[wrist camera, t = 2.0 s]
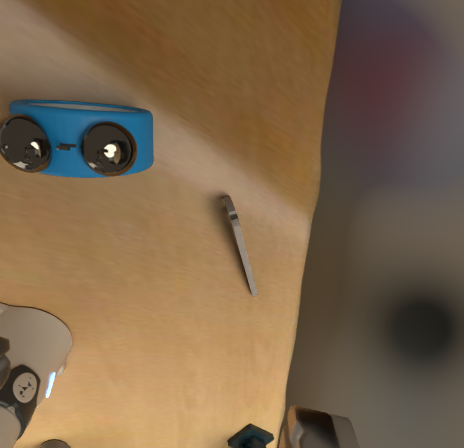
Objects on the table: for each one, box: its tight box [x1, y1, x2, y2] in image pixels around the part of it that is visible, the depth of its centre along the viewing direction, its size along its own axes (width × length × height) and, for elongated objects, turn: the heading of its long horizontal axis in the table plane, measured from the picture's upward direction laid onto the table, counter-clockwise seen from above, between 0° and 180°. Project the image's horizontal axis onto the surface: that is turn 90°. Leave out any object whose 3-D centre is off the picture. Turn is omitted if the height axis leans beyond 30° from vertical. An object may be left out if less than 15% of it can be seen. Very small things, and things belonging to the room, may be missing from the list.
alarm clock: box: [0, 100, 154, 178], centre depth 29 cm, size 13×6×15 cm, turn 85°
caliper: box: [224, 196, 258, 296], centre depth 44 cm, size 20×1×6 cm, turn 15°
